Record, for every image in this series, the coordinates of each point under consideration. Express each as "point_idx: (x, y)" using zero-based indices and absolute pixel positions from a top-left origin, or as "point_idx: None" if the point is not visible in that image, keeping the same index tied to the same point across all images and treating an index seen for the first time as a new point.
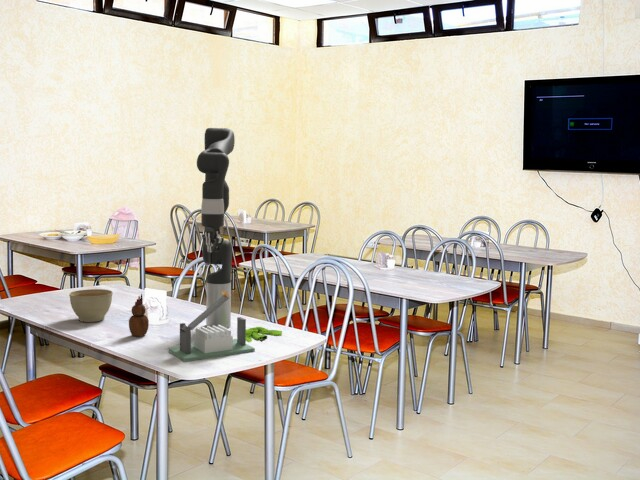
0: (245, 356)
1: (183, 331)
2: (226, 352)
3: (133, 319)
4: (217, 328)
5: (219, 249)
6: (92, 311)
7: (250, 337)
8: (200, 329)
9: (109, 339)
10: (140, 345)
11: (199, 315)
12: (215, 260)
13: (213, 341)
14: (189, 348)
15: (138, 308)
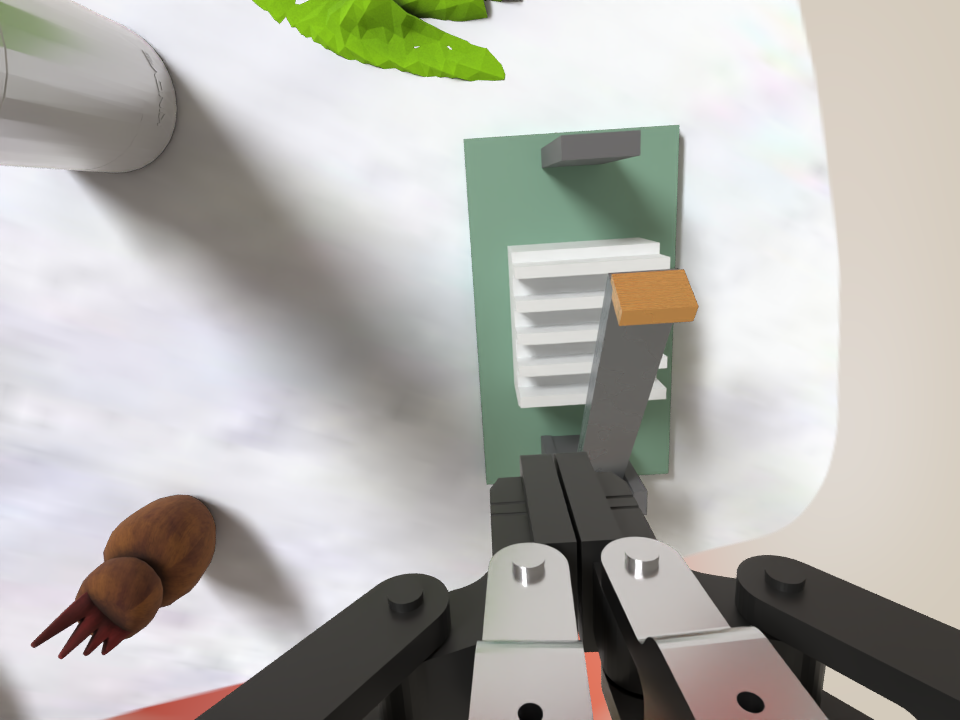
0: (729, 208)
1: None
2: None
3: (176, 599)
4: (588, 308)
5: (843, 594)
6: None
7: (428, 29)
8: (570, 399)
9: (218, 628)
10: (356, 550)
11: (584, 437)
12: (628, 493)
13: None
14: None
15: (143, 617)
